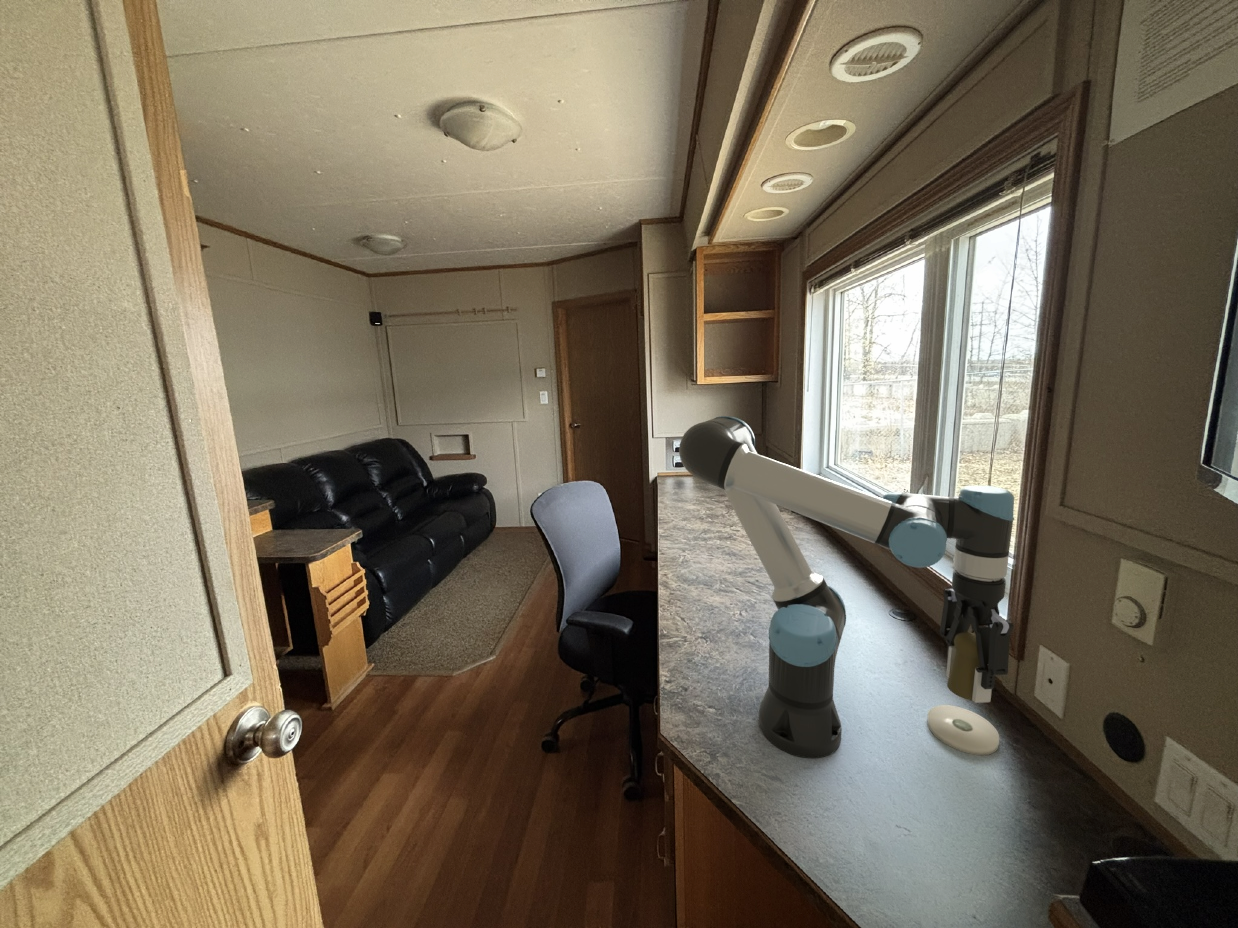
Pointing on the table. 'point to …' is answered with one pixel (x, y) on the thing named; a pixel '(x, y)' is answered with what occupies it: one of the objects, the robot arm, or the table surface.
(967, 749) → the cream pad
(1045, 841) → the table surface
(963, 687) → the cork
